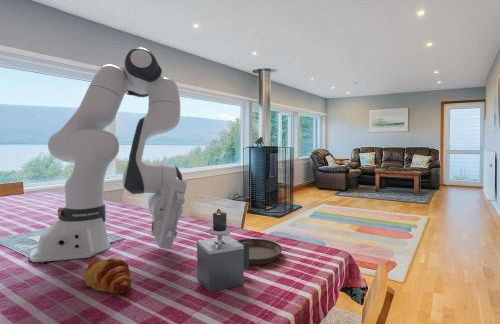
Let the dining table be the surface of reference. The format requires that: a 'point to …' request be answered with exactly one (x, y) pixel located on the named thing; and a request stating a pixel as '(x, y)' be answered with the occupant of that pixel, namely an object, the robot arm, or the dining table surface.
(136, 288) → the dining table surface
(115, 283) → the croissant
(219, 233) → the plunger
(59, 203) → the dining table surface
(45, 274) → the dining table surface
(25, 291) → the dining table surface
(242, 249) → the matte gray cube
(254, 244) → the plant saucer
